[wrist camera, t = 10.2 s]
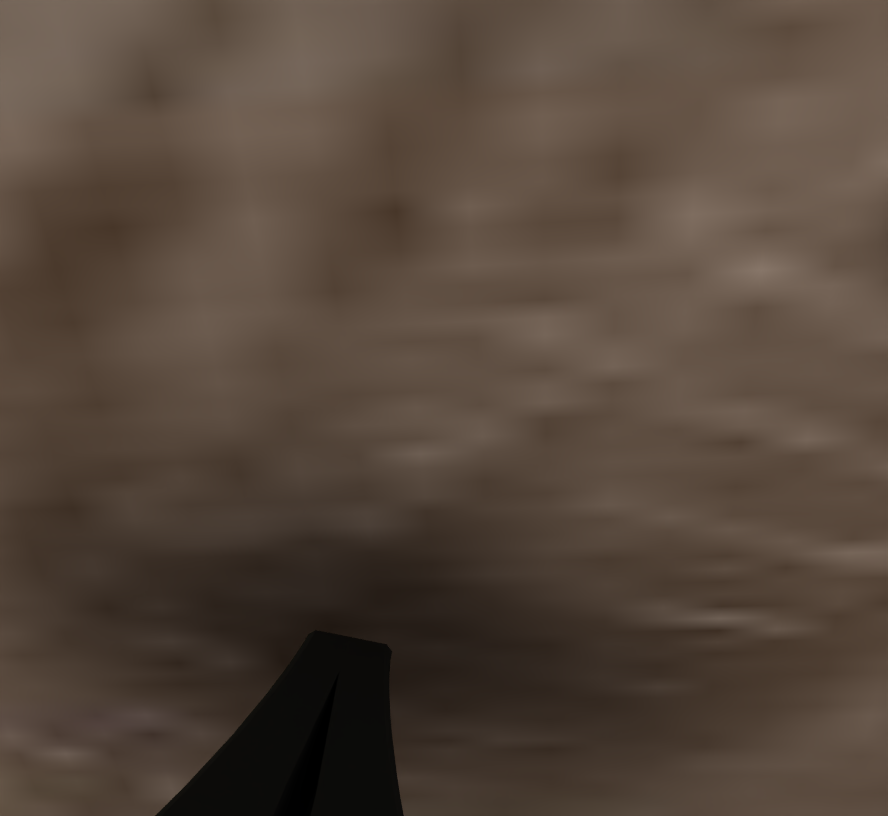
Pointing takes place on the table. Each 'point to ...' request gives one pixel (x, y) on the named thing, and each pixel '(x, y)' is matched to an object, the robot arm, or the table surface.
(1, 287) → the table surface
